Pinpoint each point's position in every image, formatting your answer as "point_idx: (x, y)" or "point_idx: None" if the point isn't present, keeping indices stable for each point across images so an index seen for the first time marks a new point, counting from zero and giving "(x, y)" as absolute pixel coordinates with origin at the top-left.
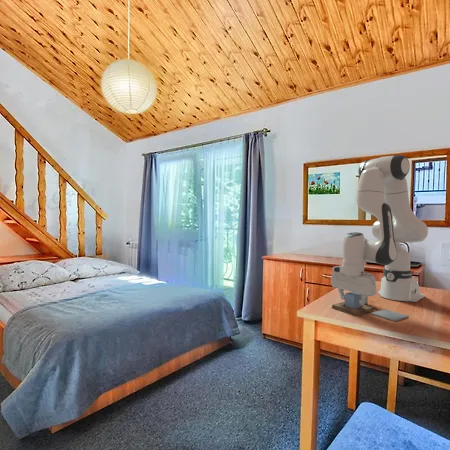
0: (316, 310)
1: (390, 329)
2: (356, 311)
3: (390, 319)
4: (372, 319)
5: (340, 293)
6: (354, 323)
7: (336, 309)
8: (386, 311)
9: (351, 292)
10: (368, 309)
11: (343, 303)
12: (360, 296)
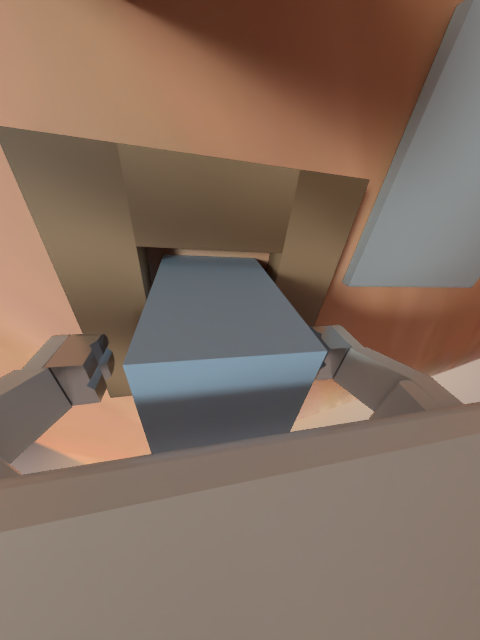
0: (125, 441)
1: (423, 367)
2: None
3: (450, 285)
4: (361, 341)
5: (37, 430)
6: (313, 413)
7: None
8: (469, 121)
9: (158, 389)
10: (333, 266)
11: (110, 315)
12: (307, 329)
